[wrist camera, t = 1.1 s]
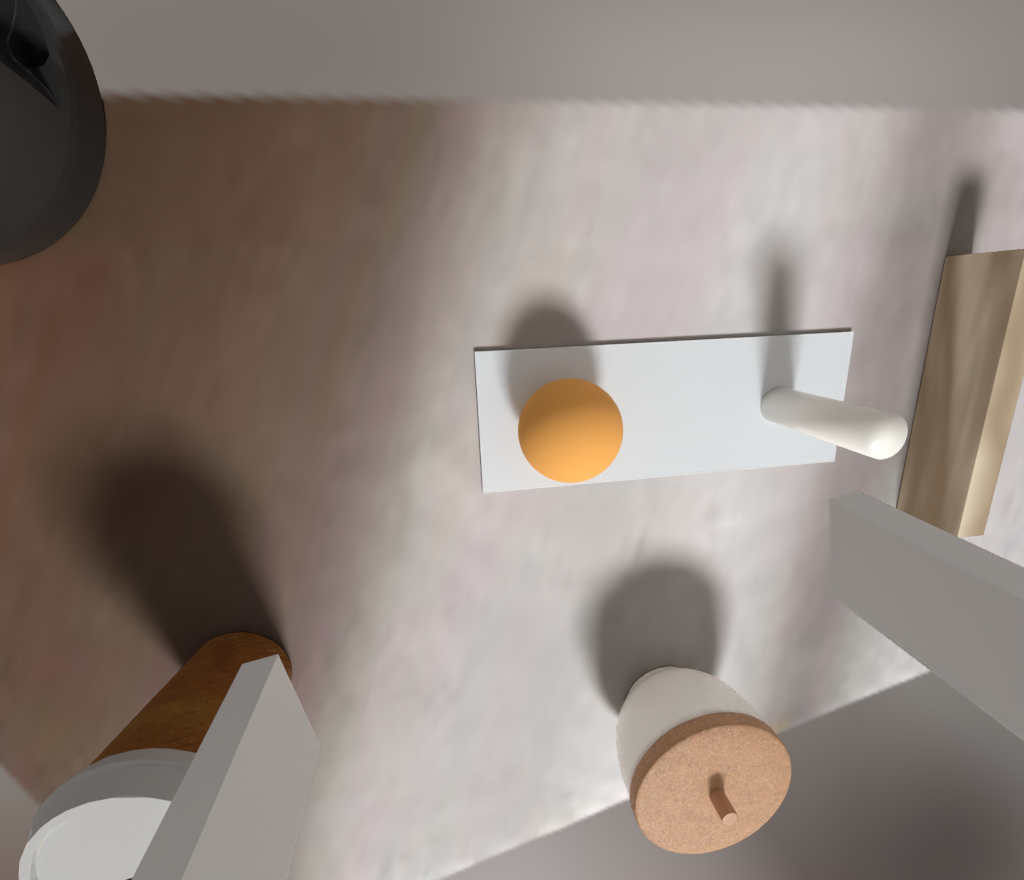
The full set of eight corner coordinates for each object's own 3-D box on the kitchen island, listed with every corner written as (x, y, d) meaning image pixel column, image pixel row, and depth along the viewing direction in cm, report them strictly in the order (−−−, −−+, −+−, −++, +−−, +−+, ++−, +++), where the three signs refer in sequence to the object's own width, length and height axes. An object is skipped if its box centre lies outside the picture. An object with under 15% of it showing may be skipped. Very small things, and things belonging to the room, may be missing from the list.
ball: (492, 430, 30) (504, 459, 24) (549, 352, 29) (576, 363, 24) (565, 480, 32) (592, 519, 26) (621, 407, 31) (662, 430, 25)
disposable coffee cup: (330, 623, 32) (269, 798, 21) (302, 736, 34) (232, 953, 23) (174, 597, 30) (11, 776, 19) (155, 720, 32) (-3, 948, 21)
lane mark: (482, 491, 31) (483, 493, 31) (474, 351, 29) (474, 351, 28) (832, 460, 34) (834, 461, 34) (851, 331, 32) (854, 331, 32)
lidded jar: (616, 634, 36) (675, 744, 27) (742, 645, 38) (836, 751, 29) (582, 749, 38) (625, 885, 29) (702, 754, 40) (777, 882, 31)
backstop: (896, 510, 36) (957, 538, 32) (945, 256, 31) (1025, 248, 27) (919, 508, 37) (983, 534, 32) (972, 255, 32) (1055, 247, 27)
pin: (751, 408, 32) (855, 442, 24) (775, 379, 32) (889, 404, 24) (774, 428, 33) (883, 468, 25) (798, 399, 33) (916, 430, 25)
